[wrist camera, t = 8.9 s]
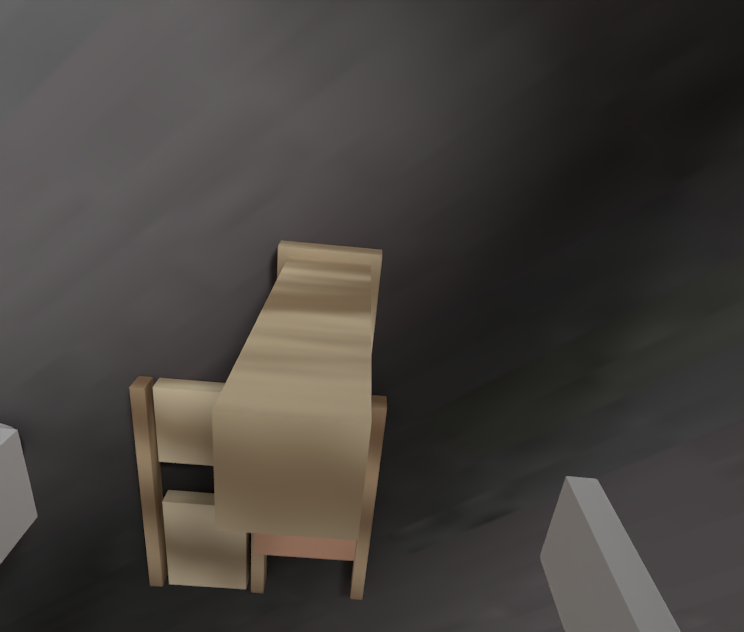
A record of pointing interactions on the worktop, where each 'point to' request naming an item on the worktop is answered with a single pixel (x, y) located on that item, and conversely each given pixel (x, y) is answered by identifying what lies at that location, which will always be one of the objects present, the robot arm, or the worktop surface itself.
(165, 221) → the worktop surface
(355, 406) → the tan boxy piece
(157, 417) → the broken strip
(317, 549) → the terracotta cube
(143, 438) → the lane rails
